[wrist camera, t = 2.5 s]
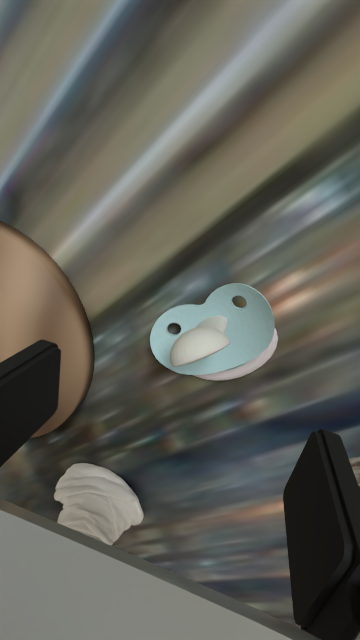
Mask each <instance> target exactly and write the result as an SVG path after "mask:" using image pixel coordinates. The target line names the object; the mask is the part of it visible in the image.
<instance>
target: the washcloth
mask: <svg viewBox="0 0 360 640" xmlns="http://www.w3.org/2000/svg"><path fill="white" fill-rule="evenodd" d="M349 461H350V464H351V466H352V469H353V472H354V474H355V477H356V480H357V482H358V485H359V486H360V457H354V458H349Z"/></svg>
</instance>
